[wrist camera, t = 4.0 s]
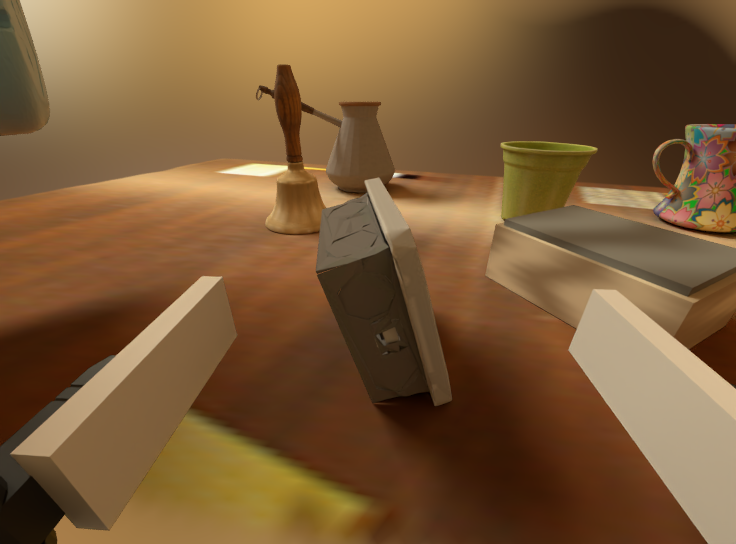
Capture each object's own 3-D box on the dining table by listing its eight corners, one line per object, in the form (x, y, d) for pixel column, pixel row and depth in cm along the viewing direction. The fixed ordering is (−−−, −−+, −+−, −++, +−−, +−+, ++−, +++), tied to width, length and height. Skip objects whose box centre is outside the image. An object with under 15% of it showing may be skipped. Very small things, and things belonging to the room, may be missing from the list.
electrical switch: (455, 413, 15) (465, 226, 10) (345, 430, 14) (307, 247, 10) (411, 302, 23) (406, 171, 18) (340, 311, 23) (318, 182, 18)
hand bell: (341, 231, 35) (333, 61, 28) (264, 238, 33) (234, 58, 26) (330, 209, 42) (322, 70, 35) (266, 214, 41) (243, 68, 33)
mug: (708, 214, 41) (757, 124, 36) (778, 241, 33) (853, 130, 28) (608, 209, 43) (641, 123, 38) (650, 234, 35) (699, 129, 29)
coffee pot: (392, 180, 59) (396, 87, 51) (396, 196, 48) (401, 83, 41) (278, 179, 59) (266, 87, 52) (259, 195, 49) (240, 83, 42)
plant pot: (496, 205, 44) (509, 139, 40) (573, 217, 40) (597, 143, 36) (478, 225, 37) (492, 146, 33) (569, 241, 33) (599, 153, 29)
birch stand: (485, 275, 26) (497, 218, 24) (555, 254, 30) (572, 203, 27) (652, 372, 17) (699, 294, 14) (725, 325, 20) (773, 256, 18)
